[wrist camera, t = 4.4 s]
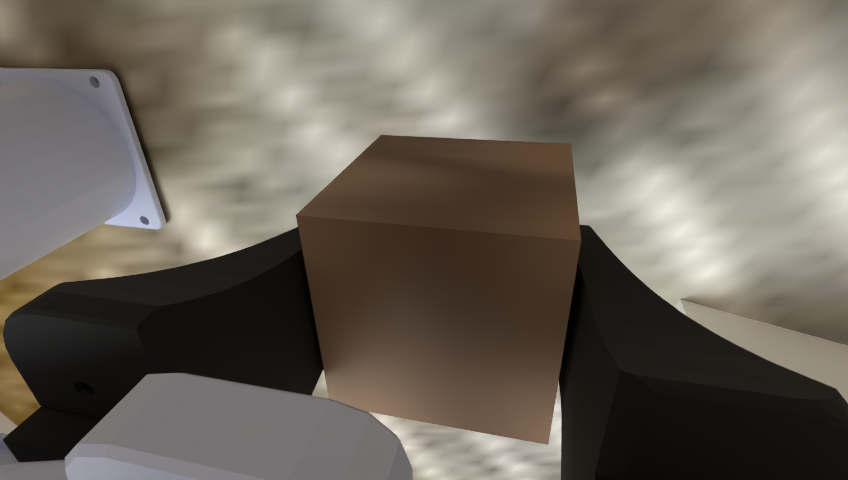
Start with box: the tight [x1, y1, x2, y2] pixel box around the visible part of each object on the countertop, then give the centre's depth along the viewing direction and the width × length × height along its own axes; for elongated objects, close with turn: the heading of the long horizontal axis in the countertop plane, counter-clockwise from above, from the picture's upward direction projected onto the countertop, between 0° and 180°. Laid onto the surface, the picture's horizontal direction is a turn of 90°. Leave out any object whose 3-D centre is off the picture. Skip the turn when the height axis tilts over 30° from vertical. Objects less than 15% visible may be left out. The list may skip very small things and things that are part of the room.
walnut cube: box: [296, 135, 581, 445], centre depth 11 cm, size 5×5×5 cm
